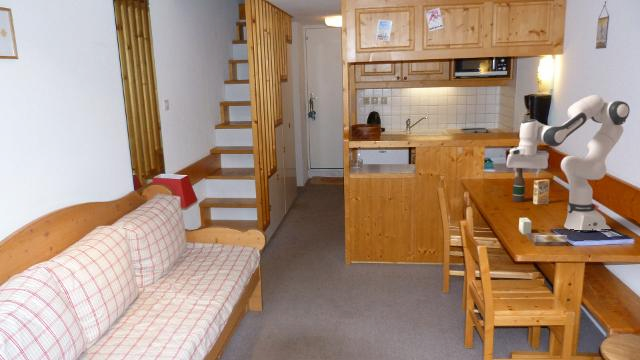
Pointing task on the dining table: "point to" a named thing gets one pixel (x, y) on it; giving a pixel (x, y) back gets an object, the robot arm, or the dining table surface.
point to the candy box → (541, 192)
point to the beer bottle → (519, 187)
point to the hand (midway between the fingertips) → (526, 176)
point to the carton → (524, 226)
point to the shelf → (547, 239)
